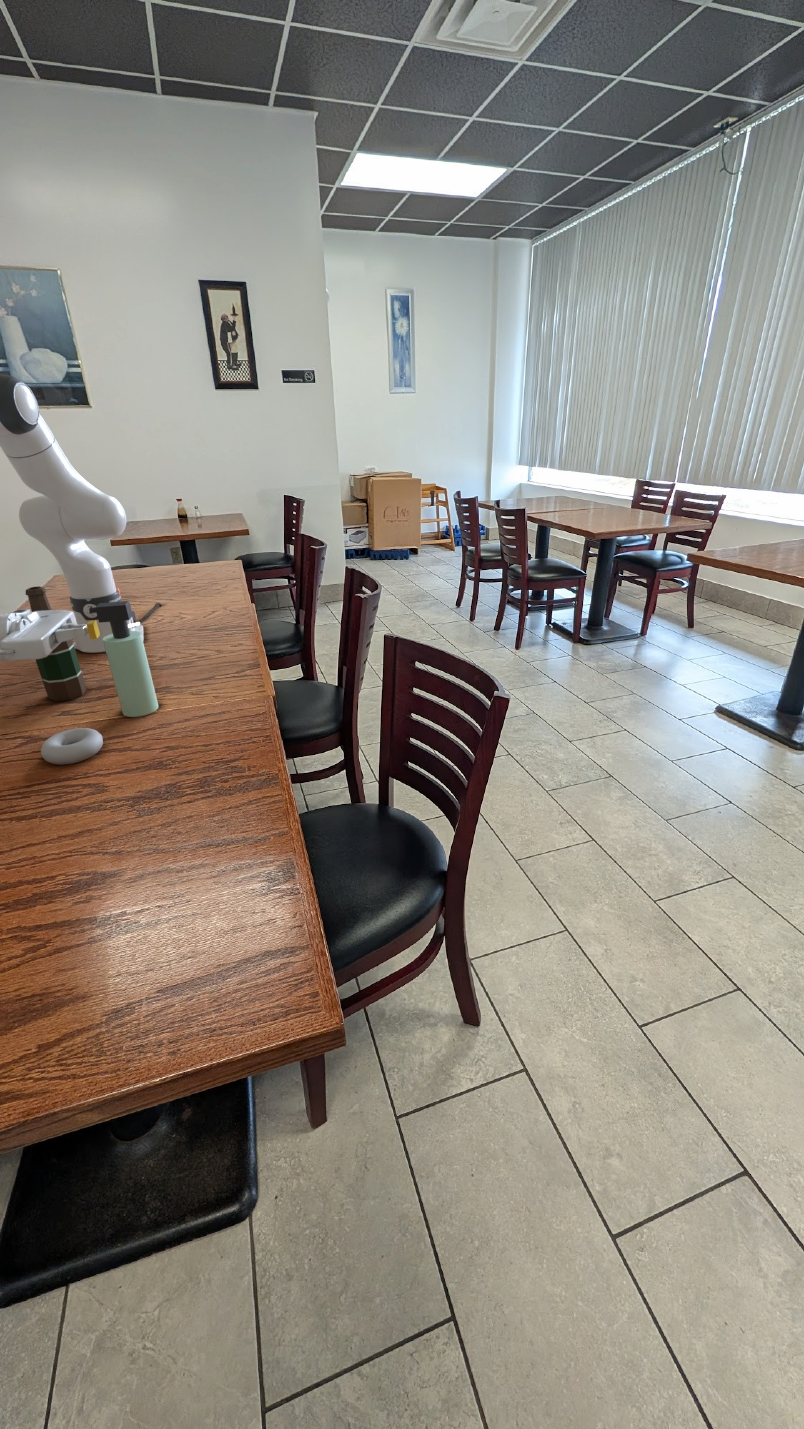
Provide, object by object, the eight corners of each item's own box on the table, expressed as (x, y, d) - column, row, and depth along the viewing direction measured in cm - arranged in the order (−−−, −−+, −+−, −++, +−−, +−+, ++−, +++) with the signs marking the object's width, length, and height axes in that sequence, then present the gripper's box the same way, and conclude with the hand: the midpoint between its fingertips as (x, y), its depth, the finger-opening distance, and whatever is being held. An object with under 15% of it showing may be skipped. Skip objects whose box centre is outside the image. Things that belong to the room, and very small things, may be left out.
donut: (74, 772, 100) (117, 744, 108) (68, 755, 98) (112, 727, 107) (31, 764, 103) (75, 737, 112) (24, 747, 102) (70, 721, 110)
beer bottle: (71, 702, 127) (36, 593, 116) (40, 700, 128) (3, 592, 118) (94, 688, 133) (64, 583, 123) (65, 686, 135) (32, 583, 124)
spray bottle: (121, 705, 124) (93, 601, 115) (161, 701, 126) (136, 597, 116) (113, 719, 118) (83, 610, 108) (155, 714, 120) (128, 607, 110)
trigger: (93, 635, 115) (89, 620, 114) (100, 635, 115) (96, 620, 114) (90, 639, 113) (86, 624, 112) (97, 638, 113) (92, 623, 112)
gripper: (-22, 638, 101) (65, 630, 103) (24, 607, 119) (96, 601, 121) (-9, 672, 103) (75, 664, 106) (33, 636, 121) (104, 630, 124)
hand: (86, 630), depth 113 cm, fingers closed
